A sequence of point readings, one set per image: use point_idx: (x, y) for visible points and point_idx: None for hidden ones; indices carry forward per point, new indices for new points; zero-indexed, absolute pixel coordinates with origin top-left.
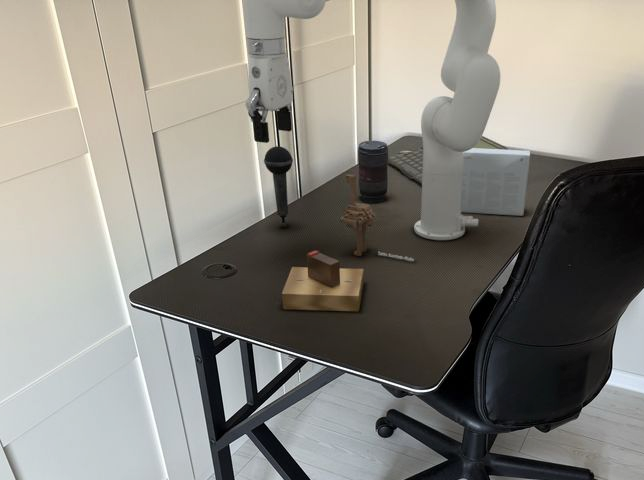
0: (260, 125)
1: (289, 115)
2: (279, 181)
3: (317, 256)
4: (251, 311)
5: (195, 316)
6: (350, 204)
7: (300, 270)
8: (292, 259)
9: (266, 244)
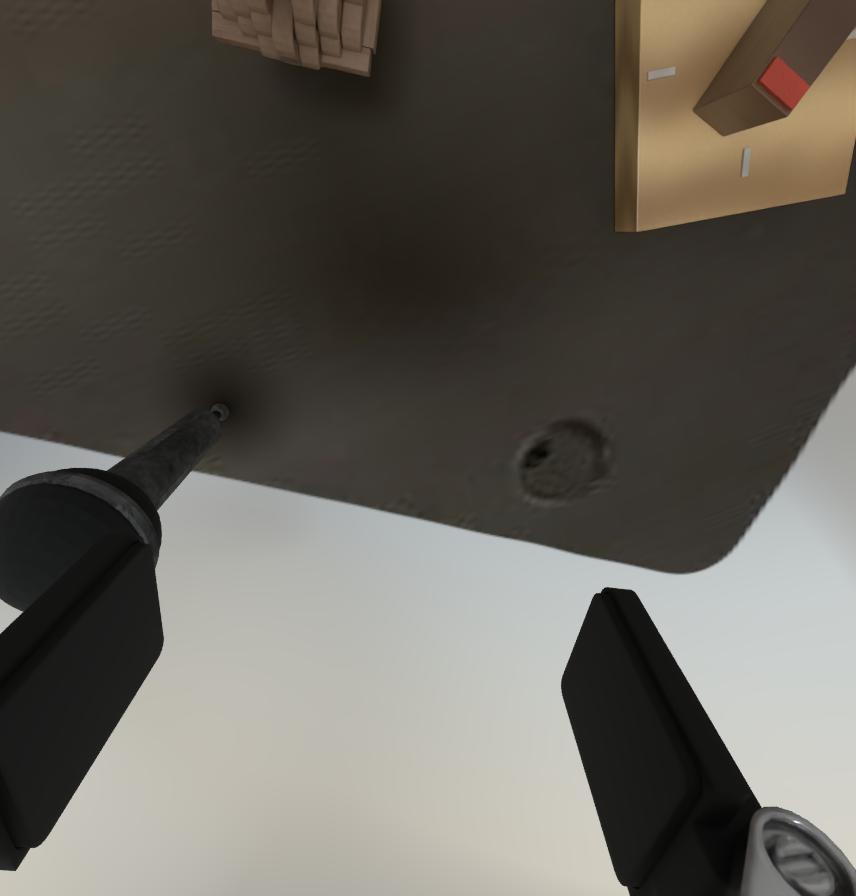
0: (746, 803)
1: (1, 682)
2: (161, 481)
3: (816, 50)
4: (803, 290)
5: (814, 418)
6: (265, 5)
7: (664, 189)
8: (452, 294)
9: (366, 412)
